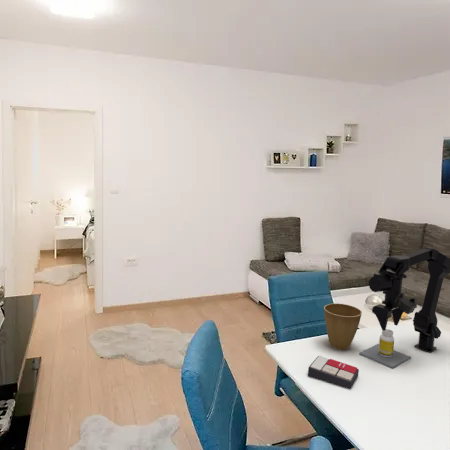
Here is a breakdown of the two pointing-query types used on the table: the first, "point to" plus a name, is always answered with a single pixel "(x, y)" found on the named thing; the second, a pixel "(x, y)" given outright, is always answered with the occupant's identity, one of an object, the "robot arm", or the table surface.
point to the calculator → (333, 372)
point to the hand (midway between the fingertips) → (389, 327)
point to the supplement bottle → (386, 343)
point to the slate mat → (387, 361)
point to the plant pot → (341, 324)
